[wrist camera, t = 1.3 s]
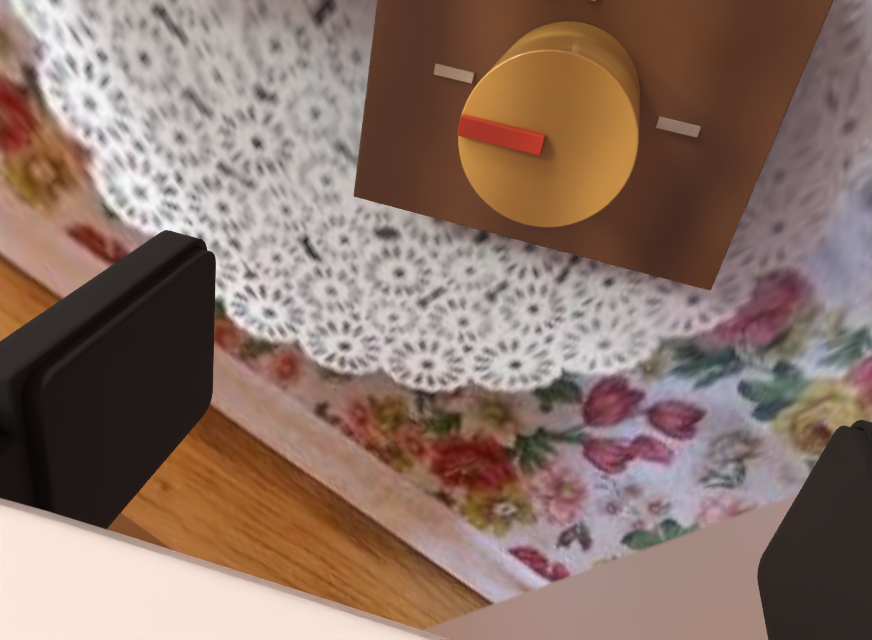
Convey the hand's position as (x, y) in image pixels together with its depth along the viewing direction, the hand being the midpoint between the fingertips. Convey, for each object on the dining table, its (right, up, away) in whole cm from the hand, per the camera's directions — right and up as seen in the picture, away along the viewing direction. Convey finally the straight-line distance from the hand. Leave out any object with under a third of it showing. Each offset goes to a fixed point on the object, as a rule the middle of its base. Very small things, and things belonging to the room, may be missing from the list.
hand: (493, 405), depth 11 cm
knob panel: (+4, +10, +17) cm, 20 cm away
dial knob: (+3, +9, +14) cm, 17 cm away
